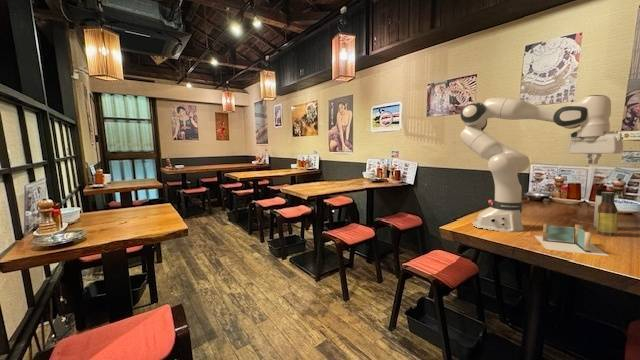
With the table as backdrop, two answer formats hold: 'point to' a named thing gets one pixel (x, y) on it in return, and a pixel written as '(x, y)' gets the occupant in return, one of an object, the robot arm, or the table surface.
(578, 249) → the card
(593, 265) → the table surface
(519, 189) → the robot arm
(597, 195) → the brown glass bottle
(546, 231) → the fixed fence
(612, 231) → the sauce bottle
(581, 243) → the hinged panel
